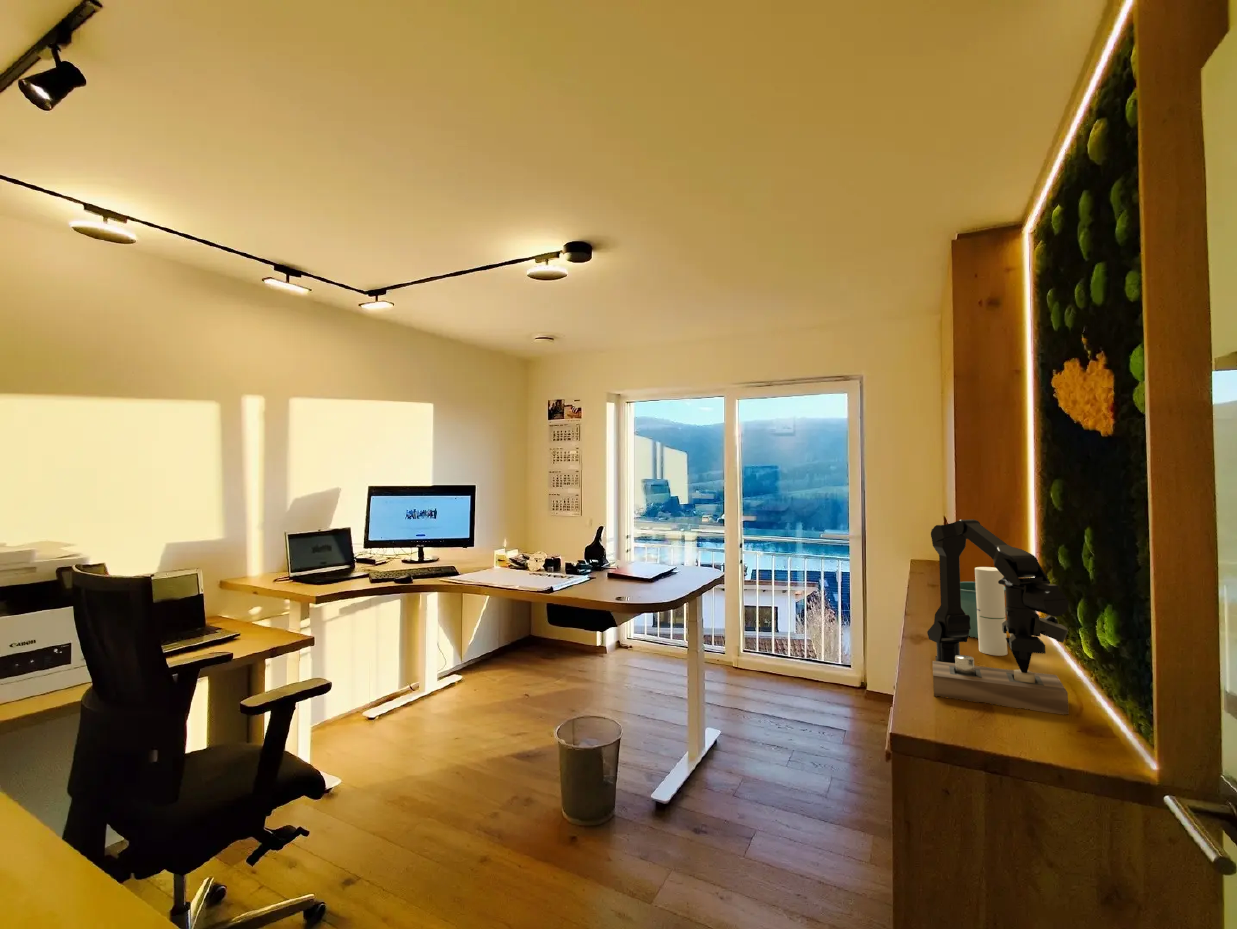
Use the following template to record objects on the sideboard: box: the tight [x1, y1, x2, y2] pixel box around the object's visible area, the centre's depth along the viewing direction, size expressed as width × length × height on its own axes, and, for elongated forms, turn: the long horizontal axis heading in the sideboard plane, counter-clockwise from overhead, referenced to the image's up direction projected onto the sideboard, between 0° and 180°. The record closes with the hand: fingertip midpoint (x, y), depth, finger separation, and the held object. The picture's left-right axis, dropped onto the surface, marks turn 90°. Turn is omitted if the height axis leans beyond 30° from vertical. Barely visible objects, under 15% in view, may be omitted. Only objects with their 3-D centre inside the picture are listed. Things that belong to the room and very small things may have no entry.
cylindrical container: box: [974, 566, 1008, 657], centre depth 166 cm, size 7×7×25 cm
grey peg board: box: [932, 660, 1070, 715], centre depth 134 cm, size 12×26×5 cm, turn 61°
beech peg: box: [1013, 668, 1036, 683], centre depth 131 cm, size 4×4×5 cm
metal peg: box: [955, 654, 975, 676], centre depth 137 cm, size 4×4×5 cm
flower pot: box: [960, 581, 1006, 639], centre depth 185 cm, size 16×16×16 cm
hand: (1024, 672), depth 131 cm, fingers closed, pressing on beech peg
